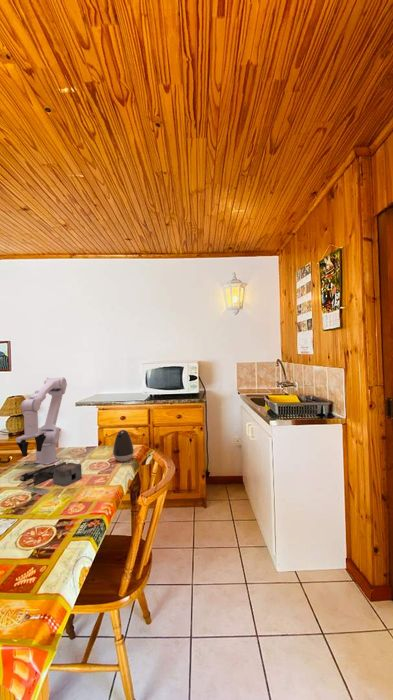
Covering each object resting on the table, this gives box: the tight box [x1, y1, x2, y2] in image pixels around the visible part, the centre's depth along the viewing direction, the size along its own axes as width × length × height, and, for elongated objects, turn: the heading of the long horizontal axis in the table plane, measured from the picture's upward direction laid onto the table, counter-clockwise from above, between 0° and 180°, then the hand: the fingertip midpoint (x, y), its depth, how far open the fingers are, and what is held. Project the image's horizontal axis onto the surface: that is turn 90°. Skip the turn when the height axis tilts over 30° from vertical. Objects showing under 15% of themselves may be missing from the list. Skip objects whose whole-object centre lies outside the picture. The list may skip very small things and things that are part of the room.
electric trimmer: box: [19, 464, 56, 483], centre depth 145 cm, size 4×16×3 cm, turn 143°
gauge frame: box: [20, 462, 83, 496], centre depth 135 cm, size 15×18×6 cm
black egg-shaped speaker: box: [112, 429, 135, 463], centre depth 162 cm, size 10×10×15 cm
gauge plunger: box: [26, 461, 72, 486], centre depth 137 cm, size 12×20×4 cm, turn 155°
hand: (32, 453), depth 149 cm, fingers open, 7 cm apart
